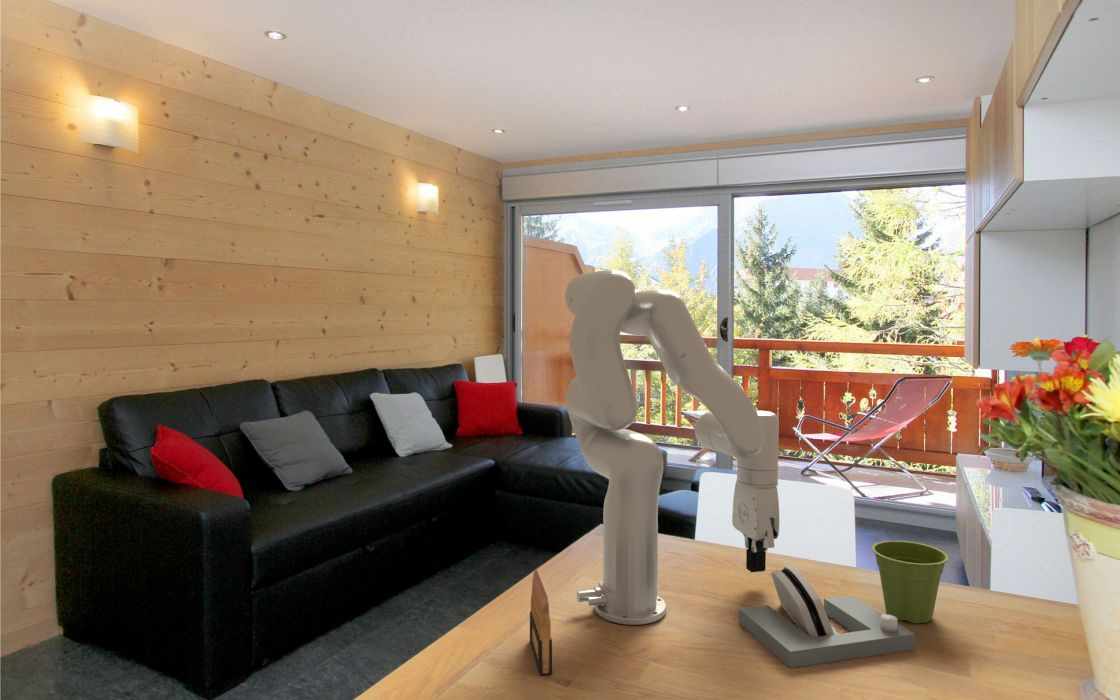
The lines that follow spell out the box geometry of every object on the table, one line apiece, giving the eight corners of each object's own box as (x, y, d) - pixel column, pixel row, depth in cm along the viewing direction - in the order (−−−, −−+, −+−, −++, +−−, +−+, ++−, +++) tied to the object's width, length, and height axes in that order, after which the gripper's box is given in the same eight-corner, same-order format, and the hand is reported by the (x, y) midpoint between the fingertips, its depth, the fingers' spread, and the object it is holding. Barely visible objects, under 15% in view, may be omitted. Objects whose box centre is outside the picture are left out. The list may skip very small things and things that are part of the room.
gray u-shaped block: (790, 668, 100) (790, 639, 100) (738, 623, 114) (739, 598, 114) (914, 649, 105) (915, 622, 105) (850, 608, 120) (851, 585, 120)
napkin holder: (552, 675, 98) (552, 594, 97) (539, 676, 98) (539, 595, 97) (541, 640, 109) (540, 566, 108) (529, 641, 108) (529, 567, 108)
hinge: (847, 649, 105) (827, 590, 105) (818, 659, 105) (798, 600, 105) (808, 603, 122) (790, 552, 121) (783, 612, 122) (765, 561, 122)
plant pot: (891, 595, 126) (893, 535, 125) (959, 618, 116) (961, 554, 115) (856, 611, 119) (858, 548, 118) (925, 637, 109) (927, 569, 109)
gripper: (720, 468, 135) (719, 558, 136) (760, 486, 121) (758, 587, 122) (754, 466, 137) (753, 555, 138) (797, 484, 122) (795, 583, 123)
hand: (755, 570), depth 130 cm, fingers closed
